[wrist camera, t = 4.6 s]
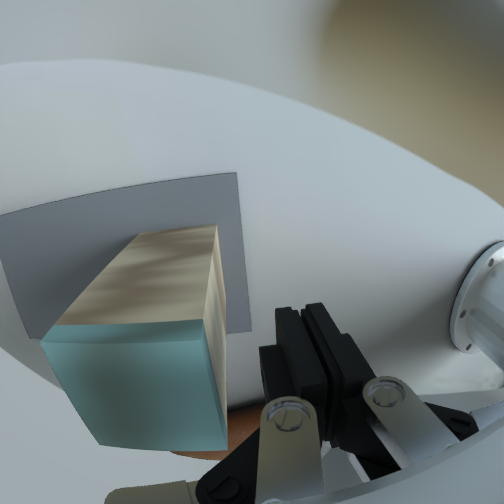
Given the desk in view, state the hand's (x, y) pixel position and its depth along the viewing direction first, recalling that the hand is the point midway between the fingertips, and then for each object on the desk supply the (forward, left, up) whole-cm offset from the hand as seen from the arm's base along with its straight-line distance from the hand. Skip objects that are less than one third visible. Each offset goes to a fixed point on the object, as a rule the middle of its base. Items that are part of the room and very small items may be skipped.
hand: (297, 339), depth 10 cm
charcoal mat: (+11, 0, -10) cm, 15 cm away
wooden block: (+5, 0, -9) cm, 11 cm away
